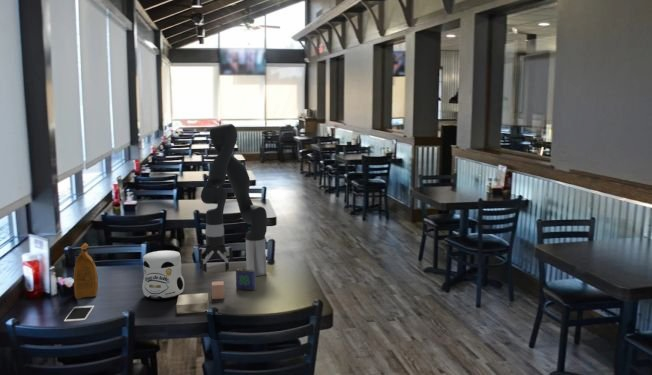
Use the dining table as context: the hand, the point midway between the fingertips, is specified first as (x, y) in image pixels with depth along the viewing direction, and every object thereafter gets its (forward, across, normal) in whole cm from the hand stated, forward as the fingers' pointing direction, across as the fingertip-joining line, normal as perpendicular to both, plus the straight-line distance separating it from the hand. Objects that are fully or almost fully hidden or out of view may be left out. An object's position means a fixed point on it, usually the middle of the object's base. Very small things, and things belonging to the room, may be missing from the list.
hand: (216, 271), depth 246 cm
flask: (+11, -12, -7) cm, 18 cm away
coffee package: (+12, +56, -13) cm, 58 cm away
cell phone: (+12, +53, +10) cm, 56 cm away
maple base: (+12, +9, +11) cm, 19 cm away
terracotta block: (+11, -1, 0) cm, 11 cm away
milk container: (+12, +22, -6) cm, 26 cm away
